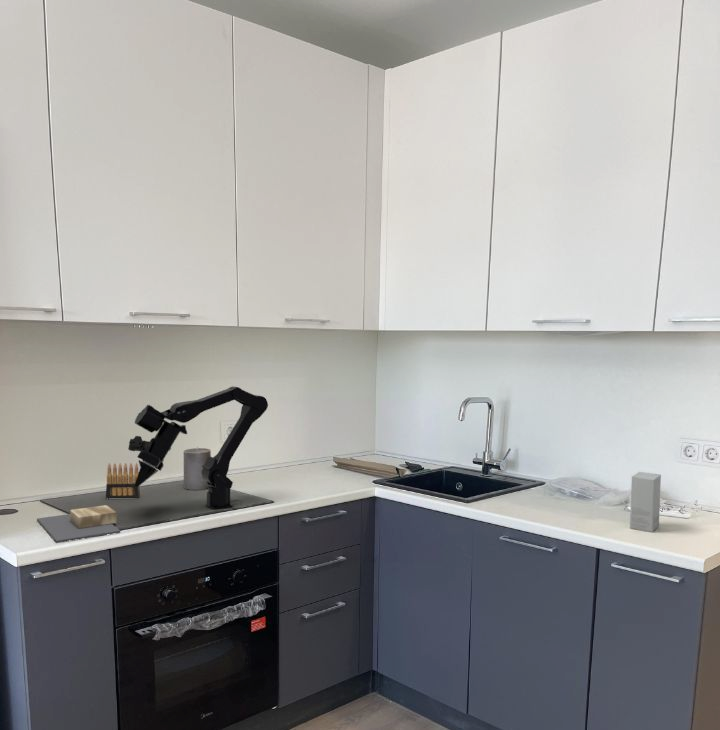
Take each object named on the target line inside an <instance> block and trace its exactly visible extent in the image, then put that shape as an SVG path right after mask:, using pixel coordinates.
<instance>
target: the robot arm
mask: <svg viewBox="0 0 720 730" xmlns="http://www.w3.org/2000/svg"><path fill="white" fill-rule="evenodd" d="M233 401H236V402H237V403H239V404H241V408H240V409H241V410H240V415H239V418H238V419H237V421H236V423H235V424H234V426H233V428H232V429H231V431H230V433H229V434H228V436H227V437H226V440H225V441H224V443H222V446H221V447H220V449H219V451H218V452H217V454H215V455H214V456H213V457H212V456H211V457H210V456H208V458H207V460H206V462H205V464H204V465H203V466H202V467H203V469H202V472H201V473H202V477H203V479H204V480H206V481H207V484H208V485H209V486H211V487H208V489H207V492H206V503H205V505H206V506H207V507H209V508H211V509H213V510H217V509H224V508H229V507H230V508H231V507H233V504H232V503H231V489H232V488H233V487H232V486H233V483H234V482H233V480H231V479H230V478H229V477H228V476H227V475H228V472H229V469H230V464H231V463H230V462H231V460H232V458H233V456H234V455H235V454H236V451H237V449H238V448H239V446H240V445H241V444H242V442H243V440H244V438H245V436H246V435H247V434H248V432H249V430H250V428H251V426H252V425H253V424H254V423H255V422H256V421H257V420H258V419H260V418H261V417H262V416H263V415H264V413H265V412H266V411H267V409H268V407H269V404H268V400H267V398H266V397H264V396H262V395H258V394H257V395H256V394H253V393H251V392H248V391H247V390H244V389H242V388H241V387H238V386H230V387H228V388H225V389H223V390H220V391H217V392H215V393H212V394H209V395H207V396H205V397H201V398H198V399H194V400H188V401H187V400H186V401H181V402H176V403H174V404H172V405H171V406H170V408H169V409H166V410H164V411H159V410H157V409H156V408H154V407H153V406H152V405H151V404H147V405H145V407H144V408H143V409H142V410H141V411H140V412H139V413H137V415H136V418H135V419H134V424H135V425H137V426H138V427H141V428H142V429H144V430H145V431H147V432H149V433H154V432H157V433H156V434H155V436H154V437H152V438H151V439H150V440H149V441H148V440H143V438H142V436H141V435H140V436H139V435H135V437H134V438H130V440H129V442H128V447H127V450H129V451H131V452H139V453H138V455H137V456H136V457H137V458H138V463H139V464H138V465H139V470H138V473H139V474H138V476H137V479H136V482H135V486H136V487H139V488H140V486H141V485H142V484H144V483H145V482H146V481H147V480H149V479H150V478H151V477H153V476H154V475H155V474H157V473H158V472H159V471H162V469H163V468H164V461H165V458H166V456H167V455H168V453H169V452H170V451H171V449H172V446H173V444H174V443H175V441H176V440H177V438H178V436H179V434H180V433H181V434H185V435H187V434H188V432H187V428H186V425H185V423H188V422H190V421H191V420H194V419H195V418H197V417H198V416H199V415H200V414H201V413H203V412H205V411H206V412H207V411H208V410H211V409H214V408H216V407H220V406H222V405H225V404H227V403H230V402H233ZM165 419H166V420H165ZM168 421H171V422H168ZM177 422H178V423H177ZM179 423H181V424H182V423H183V424H182V425H181V424H179Z"/></svg>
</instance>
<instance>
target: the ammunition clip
mask: <svg viewBox="0 0 720 730" xmlns="http://www.w3.org/2000/svg"><path fill="white" fill-rule="evenodd" d="M133 467H134V468H133ZM117 468H118V469H117ZM106 473H107V474H106V484H105V486H106V487H105V499H106V498H108V499H107V500H110V499H109V498H139V497H141V496H140V495H141V493H140V486H139V487H136V486H135V482H136V479H137V476H138V474H139V464H138V462H136V463H135V465H134V466H133V464H132V462H131V463H130V464H129V468H128V465H127V463H126V462H125V463H124V465H123V467H122V463H121V462H119V464H118V467H117V464H116V463H115V462H114V463H113V466H112V465H111V463H108V465H107V472H106ZM139 499H140V498H139Z"/></svg>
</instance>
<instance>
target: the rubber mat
mask: <svg viewBox="0 0 720 730" xmlns="http://www.w3.org/2000/svg"><path fill="white" fill-rule="evenodd" d="M36 521H37V522H38V524H40V526H41V527H42V528H43V529H44V531H46V533H47V534H48V535H49V536H50V537H51V539H52V540H53V541H54V542H55V543H56V544H57V543H64V541H66V542H70V541H69V540H72V541H76V540H75V539H79V540H83V539H82V538H85V539H88V538H89V539H90V537H91V538H97V537H102V536H101V535H103V536H107V534H110V535H113V534H112V533H116V534H120V533H121V529H119V528H118V527H117V526H115V525H114V523H111V524H105V525H98V526H91V527H85V528H78V527H77V526H76V525H75V524H74V523H73V522H71V521H70V513H67V514H62V515H61V514H60V515H54V516H46V517H45V516H44V517H39V518H36ZM119 532H120V533H119ZM96 536H97V537H96Z"/></svg>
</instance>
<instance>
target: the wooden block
mask: <svg viewBox="0 0 720 730" xmlns="http://www.w3.org/2000/svg"><path fill="white" fill-rule="evenodd" d="M69 512H70V513H69V514H70V521H71V522H73V523H74V524H75V525H76V526H77V527H78V528H85V527H91V526H98V525H105V524H116V523H117V512H116V510H114V509H112V508H111V507H110V506H108V505H107V504H104V505H98V506H97V505H95V506H89V507H83V508H75V509H70V511H69Z"/></svg>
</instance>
